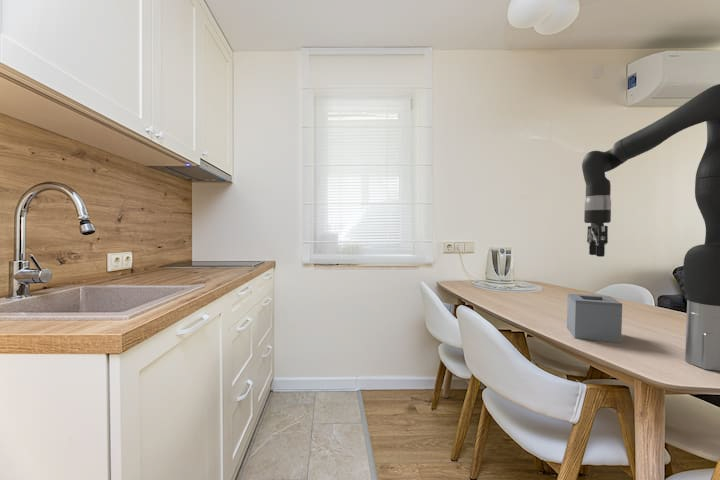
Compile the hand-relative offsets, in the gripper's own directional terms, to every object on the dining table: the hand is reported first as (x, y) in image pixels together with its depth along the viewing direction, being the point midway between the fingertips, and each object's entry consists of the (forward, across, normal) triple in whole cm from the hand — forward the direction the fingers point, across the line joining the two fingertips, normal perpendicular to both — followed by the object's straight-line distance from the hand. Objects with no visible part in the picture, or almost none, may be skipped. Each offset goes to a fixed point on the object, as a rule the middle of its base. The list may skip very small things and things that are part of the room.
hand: (596, 255), depth 116 cm
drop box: (+28, 0, +1) cm, 28 cm away
